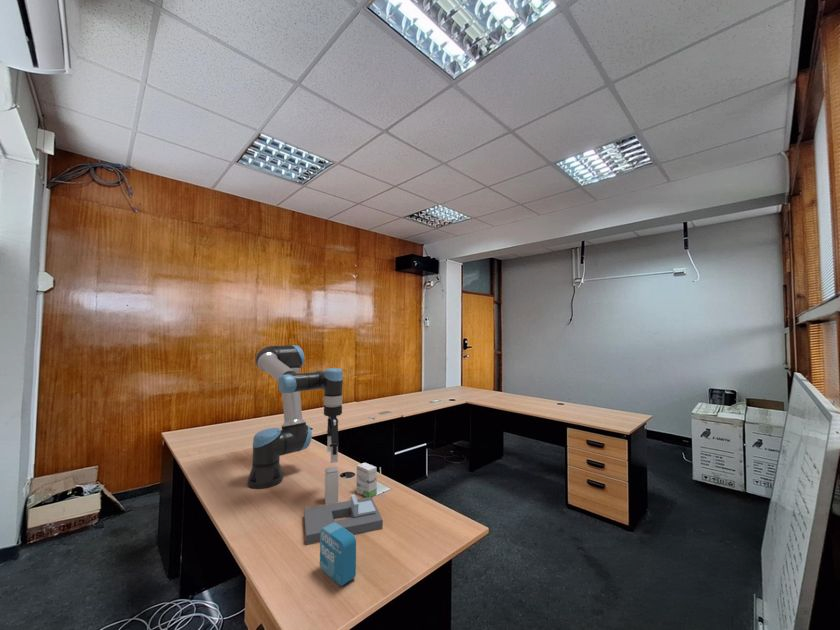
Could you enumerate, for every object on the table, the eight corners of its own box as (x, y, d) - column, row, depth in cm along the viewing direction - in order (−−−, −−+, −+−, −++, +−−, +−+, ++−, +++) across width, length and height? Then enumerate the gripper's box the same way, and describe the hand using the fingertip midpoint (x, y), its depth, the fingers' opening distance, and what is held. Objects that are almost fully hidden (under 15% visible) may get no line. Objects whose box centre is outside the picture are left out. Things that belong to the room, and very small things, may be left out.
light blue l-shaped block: (350, 506, 128) (350, 494, 128) (371, 502, 131) (371, 491, 131) (354, 516, 120) (354, 504, 120) (375, 512, 123) (375, 500, 123)
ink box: (377, 494, 144) (377, 466, 145) (368, 498, 140) (368, 470, 141) (364, 488, 149) (364, 461, 150) (355, 492, 146) (356, 464, 146)
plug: (324, 498, 140) (325, 468, 141) (336, 496, 142) (337, 466, 142) (325, 504, 135) (326, 472, 136) (338, 502, 137) (338, 471, 138)
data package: (319, 568, 99) (320, 526, 99) (332, 560, 102) (333, 520, 103) (342, 588, 91) (343, 543, 91) (356, 579, 94) (356, 536, 95)
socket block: (304, 516, 126) (304, 508, 126) (371, 504, 135) (371, 496, 136) (306, 544, 109) (306, 535, 110) (382, 528, 119) (382, 519, 119)
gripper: (321, 400, 151) (320, 448, 150) (326, 412, 128) (325, 468, 126) (338, 399, 154) (337, 446, 152) (346, 410, 130) (345, 466, 129)
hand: (332, 456), depth 139 cm, fingers open, 13 cm apart
